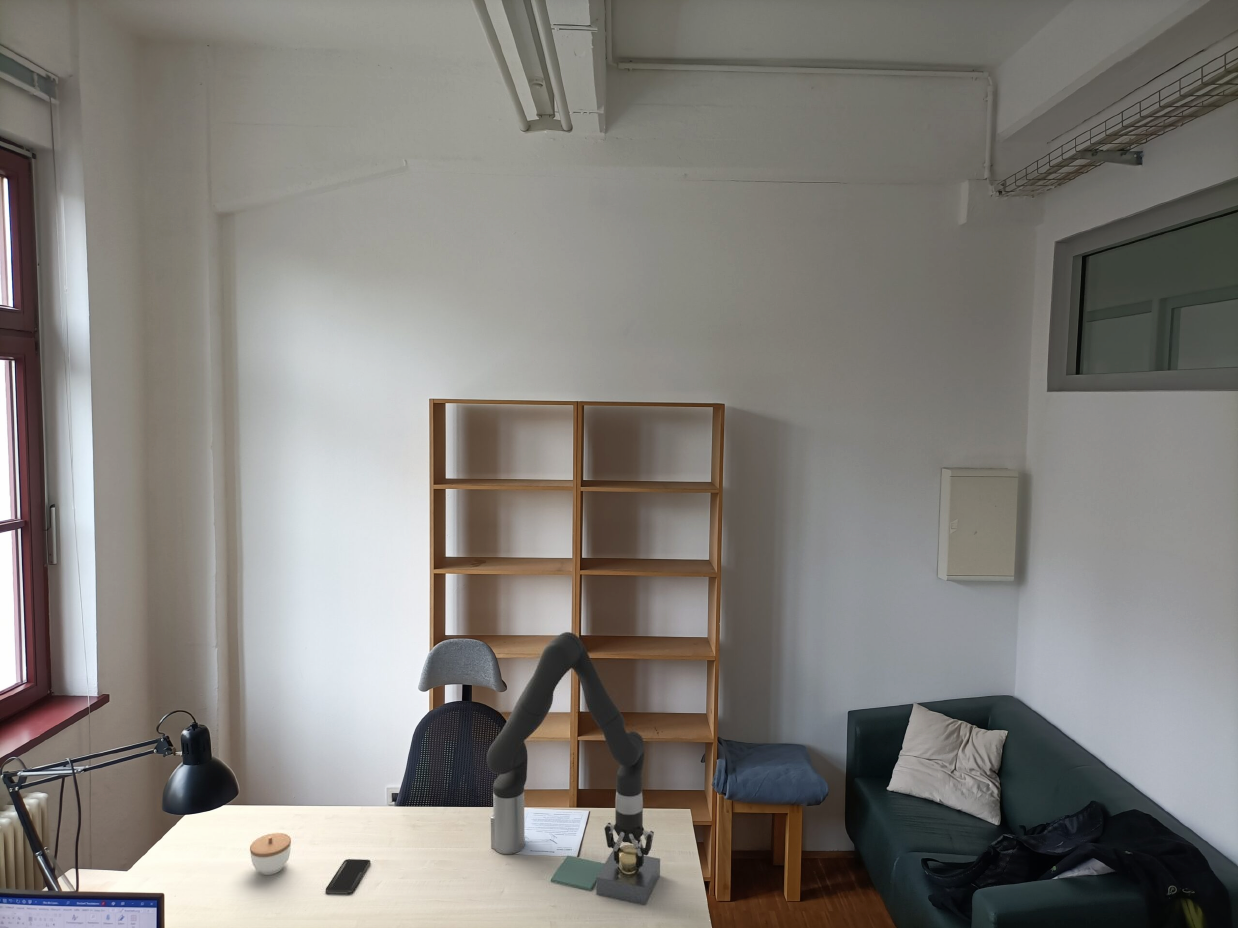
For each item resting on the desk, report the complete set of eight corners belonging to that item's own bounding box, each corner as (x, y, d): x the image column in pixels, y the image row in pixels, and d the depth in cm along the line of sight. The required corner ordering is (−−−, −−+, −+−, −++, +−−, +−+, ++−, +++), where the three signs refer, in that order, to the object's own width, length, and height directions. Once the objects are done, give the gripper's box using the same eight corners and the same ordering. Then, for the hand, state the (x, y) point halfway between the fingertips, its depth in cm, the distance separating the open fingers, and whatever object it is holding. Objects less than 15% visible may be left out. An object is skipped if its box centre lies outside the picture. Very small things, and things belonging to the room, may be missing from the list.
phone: (324, 891, 216) (345, 858, 231) (324, 894, 216) (345, 862, 231) (352, 892, 216) (372, 859, 231) (352, 895, 216) (372, 863, 231)
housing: (596, 894, 216) (596, 876, 216) (613, 865, 230) (613, 848, 229) (645, 905, 212) (645, 887, 211) (660, 875, 225) (660, 858, 225)
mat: (550, 881, 222) (550, 878, 222) (567, 857, 233) (567, 855, 233) (590, 890, 218) (590, 887, 218) (605, 865, 229) (605, 863, 229)
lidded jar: (270, 854, 235) (269, 824, 234) (299, 861, 231) (298, 831, 230) (242, 875, 225) (241, 843, 224) (272, 883, 221) (271, 851, 220)
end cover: (615, 888, 219) (615, 853, 218) (622, 876, 224) (622, 843, 223) (635, 892, 217) (635, 857, 216) (641, 880, 222) (641, 846, 222)
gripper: (599, 808, 217) (599, 866, 219) (650, 817, 213) (649, 877, 214) (609, 795, 224) (609, 851, 226) (658, 803, 220) (657, 861, 221)
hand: (628, 863), depth 220 cm, fingers closed on end cover, 5 cm apart
